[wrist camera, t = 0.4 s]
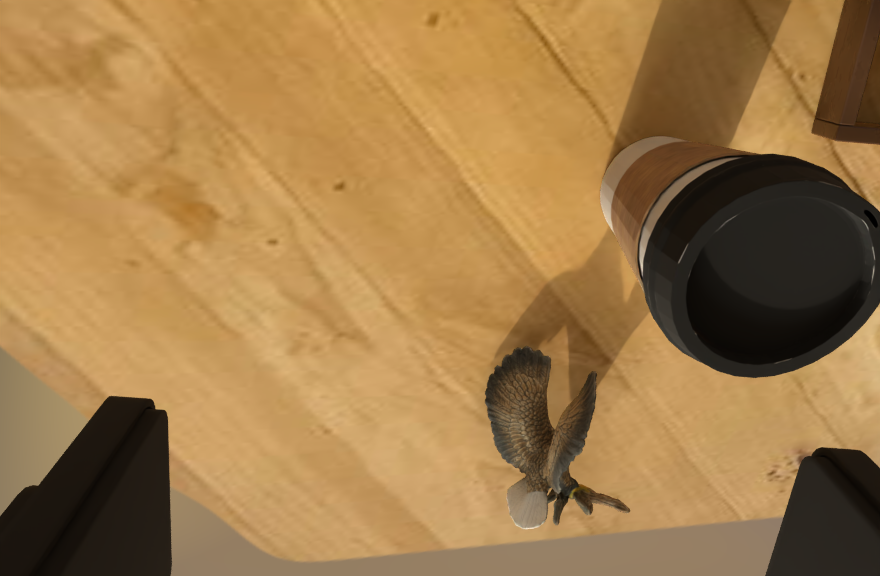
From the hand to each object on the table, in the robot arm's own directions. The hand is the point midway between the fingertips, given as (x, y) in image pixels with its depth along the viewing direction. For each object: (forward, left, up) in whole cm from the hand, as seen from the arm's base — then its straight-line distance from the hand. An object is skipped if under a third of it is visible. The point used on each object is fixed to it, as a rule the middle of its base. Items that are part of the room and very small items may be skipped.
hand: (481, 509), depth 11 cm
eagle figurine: (+15, +8, -30) cm, 35 cm away
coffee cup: (+1, +12, -30) cm, 33 cm away
